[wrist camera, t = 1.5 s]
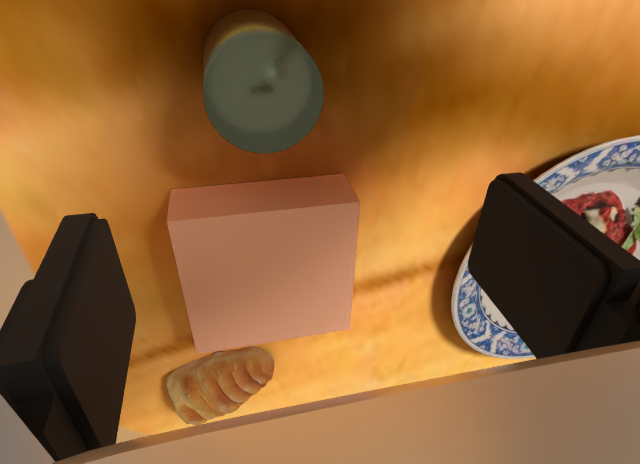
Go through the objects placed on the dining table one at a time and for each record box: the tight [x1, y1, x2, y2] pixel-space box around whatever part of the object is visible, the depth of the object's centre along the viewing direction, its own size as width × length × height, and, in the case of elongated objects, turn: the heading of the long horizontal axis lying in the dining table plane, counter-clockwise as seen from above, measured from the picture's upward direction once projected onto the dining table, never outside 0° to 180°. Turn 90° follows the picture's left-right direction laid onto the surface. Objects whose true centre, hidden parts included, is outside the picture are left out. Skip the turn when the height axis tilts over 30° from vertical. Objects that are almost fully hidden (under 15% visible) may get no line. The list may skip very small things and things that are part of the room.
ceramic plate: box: [451, 135, 640, 359], centre depth 41 cm, size 26×26×3 cm
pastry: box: [166, 347, 274, 426], centre depth 39 cm, size 9×7×4 cm
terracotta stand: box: [167, 174, 360, 354], centre depth 32 cm, size 12×12×4 cm
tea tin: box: [203, 8, 324, 153], centre depth 23 cm, size 6×6×7 cm
